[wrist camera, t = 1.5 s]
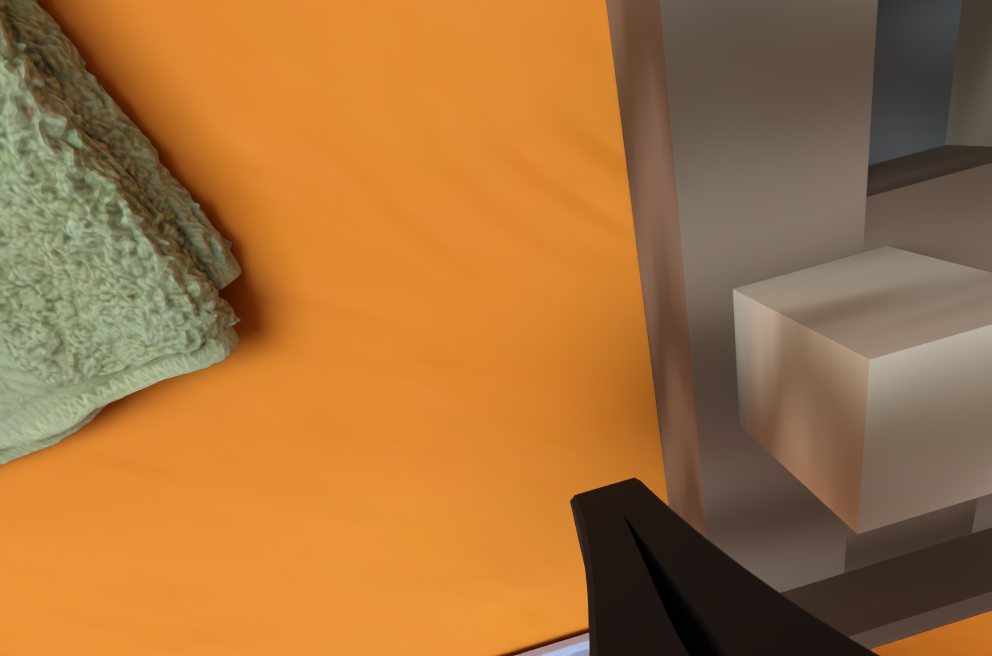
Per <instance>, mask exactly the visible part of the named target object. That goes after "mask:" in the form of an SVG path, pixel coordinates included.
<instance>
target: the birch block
mask: <svg viewBox="0 0 992 656" xmlns="http://www.w3.org/2000/svg"><path fill="white" fill-rule="evenodd" d="M733 303H734V323H735V344H736V365H737V385H738V406H739V425H740V426H741V427H742V428H743V429H744V430H745V431H746V432H747V433H748V434H750V435H751V436H752V437H753V438H754V439H755V440H756V441H757V442H758V443H759V444H760V445H761V446H763V447H764V448H765V449H766V450H767V451H768V452H769V453H770V454H771V455H772V456H773V457H774V458H775V459H777V460H778V461H779V462H780V463H781V464H782V465H783V466H784V467H785V468H786V469H787V470H788V471H790V472H791V473H792V474H793V475H794V476H795V477H796V478H797V479H798V480H799V481H800V482H801V483H803V484H804V485H805V486H806V487H807V488H808V489H809V490H810V491H811V492H812V493H813V494H814V495H815V496H817V497H818V498H819V499H820V500H821V501H822V502H823V503H824V504H825V505H826V506H827V507H828V508H830V509H831V510H832V511H833V512H834V513H835V514H836V515H837V516H838V517H839V518H840V519H841V520H842V521H844V522H845V523H846V524H847V525H848V526H849V527H850V528H851V529H852V530H853V531H854V532H855V533H857V534H860V533H864V532H867V531H870V530H873V529H877V528H880V527H883V526H886V525H890V524H893V523H896V522H900V521H903V520H906V519H909V518H913V517H916V516H919V515H922V514H926V513H929V512H932V511H935V510H939V509H942V508H945V507H949V506H952V505H955V504H958V503H962V502H965V501H968V500H971V499H975V498H978V497H981V496H984V495H988V494H991V493H992V273H991V272H987V271H983V270H979V269H975V268H971V267H967V266H963V265H959V264H956V263H952V262H948V261H944V260H940V259H936V258H932V257H928V256H924V255H920V254H916V253H912V252H909V251H905V250H901V249H897V248H893V247H889V246H886V247H882V248H879V249H875V250H871V251H868V252H864V253H861V254H857V255H853V256H850V257H846V258H843V259H839V260H835V261H832V262H828V263H825V264H821V265H818V266H814V267H810V268H807V269H803V270H800V271H796V272H792V273H789V274H785V275H782V276H778V277H774V278H771V279H767V280H764V281H760V282H757V283H753V284H749V285H746V286H742V287H739V288H735V289H733Z"/></svg>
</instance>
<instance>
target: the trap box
mask: <svg viewBox="0 0 992 656" xmlns="http://www.w3.org/2000/svg"><path fill="white" fill-rule="evenodd" d="M606 3H607V11H608V19H609V27H610V35H611V43H612V51H613V59H614V67H615V75H616V83H617V91H618V99H619V107H620V115H621V123H622V131H623V139H624V147H625V155H626V163H627V171H628V179H629V188H630V196H631V204H632V212H633V220H634V228H635V236H636V244H637V252H638V260H639V268H640V276H641V284H642V292H643V300H644V308H645V316H646V324H647V332H648V340H649V348H650V356H651V364H652V372H653V380H654V389H655V397H656V405H657V413H658V421H659V429H660V437H661V445H662V453H663V461H664V469H665V477H666V485H667V493H668V501H669V508H671V509H672V510H673V511H674V512H675V513H676V514H678V515H679V516H680V517H681V518H682V519H683V520H685V521H686V522H687V523H688V524H689V525H690V526H692V527H693V528H694V529H695V530H697V531H698V532H699V533H700V534H701V535H703V536H704V537H705V538H707V539H708V540H709V541H710V542H712V543H713V544H714V545H715V546H717V547H718V548H719V549H721V550H722V551H723V552H724V553H726V554H727V555H728V556H730V557H731V558H732V559H733V560H735V561H736V562H737V563H739V564H740V565H741V566H743V567H744V568H746V569H747V570H748V571H750V572H751V573H752V574H754V575H755V576H757V577H758V578H759V579H761V580H762V581H764V582H765V583H766V584H768V585H769V586H771V587H772V588H773V589H775V590H776V591H778V592H779V593H781V594H782V595H783V596H785V597H786V598H788V599H789V600H791V601H792V602H794V603H795V604H797V605H798V606H800V607H801V608H803V609H804V610H806V611H807V612H809V613H810V614H812V615H814V616H815V617H817V618H818V619H820V620H821V621H823V622H825V623H826V624H828V625H829V626H831V627H833V628H834V629H836V630H837V631H839V632H841V633H842V634H844V635H845V636H847V637H849V638H850V639H852V640H854V641H855V642H857V643H859V644H861V645H862V646H864V647H866V648H867V649H872V648H875V647H878V646H881V645H885V644H888V643H891V642H894V641H897V640H900V639H903V638H907V637H910V636H913V635H916V634H919V633H922V632H925V631H929V630H932V629H935V628H938V627H941V626H944V625H947V624H951V623H954V622H957V621H960V620H963V619H966V618H970V617H973V616H976V615H979V614H982V613H985V612H988V611H992V493H991V494H988V495H984V496H981V497H978V498H975V499H971V500H968V501H965V502H962V503H958V504H955V505H952V506H949V507H945V508H942V509H939V510H935V511H932V512H929V513H926V514H922V515H919V516H916V517H913V518H909V519H906V520H903V521H900V522H896V523H893V524H890V525H886V526H883V527H880V528H877V529H873V530H870V531H867V532H864V533H860V534H857V533H855V532H854V531H853V530H852V529H851V528H850V527H849V526H848V525H847V524H846V523H845V522H844V521H842V520H841V519H840V518H839V517H838V516H837V515H836V514H835V513H834V512H833V511H832V510H831V509H830V508H828V507H827V506H826V505H825V504H824V503H823V502H822V501H821V500H820V499H819V498H818V497H817V496H815V495H814V494H813V493H812V492H811V491H810V490H809V489H808V488H807V487H806V486H805V485H804V484H803V483H801V482H800V481H799V480H798V479H797V478H796V477H795V476H794V475H793V474H792V473H791V472H790V471H788V470H787V469H786V468H785V467H784V466H783V465H782V464H781V463H780V462H779V461H778V460H777V459H775V458H774V457H773V456H772V455H771V454H770V453H769V452H768V451H767V450H766V449H765V448H764V447H763V446H761V445H760V444H759V443H758V442H757V441H756V440H755V439H754V438H753V437H752V436H751V435H750V434H748V433H747V432H746V431H745V430H744V429H743V428H742V427H741V426H740V425H739V406H738V385H737V365H736V344H735V323H734V303H733V289H735V288H739V287H742V286H746V285H749V284H753V283H757V282H760V281H764V280H767V279H771V278H774V277H778V276H782V275H785V274H789V273H792V272H796V271H800V270H803V269H807V268H810V267H814V266H818V265H821V264H825V263H828V262H832V261H835V260H839V259H843V258H846V257H850V256H853V255H857V254H861V253H864V252H868V251H871V250H875V249H879V248H882V247H886V246H889V247H893V248H897V249H901V250H905V251H909V252H912V253H916V254H920V255H924V256H928V257H932V258H936V259H940V260H944V261H948V262H952V263H956V264H959V265H963V266H967V267H971V268H975V269H979V270H983V271H987V272H991V273H992V0H606Z"/></svg>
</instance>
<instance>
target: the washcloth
mask: <svg viewBox="0 0 992 656" xmlns="http://www.w3.org/2000/svg"><path fill="white" fill-rule="evenodd" d="M85 67H86V62H85V61H84V60H83V58H82V57H81V56H80V54H79V52H78V50H77V48H76V47H75V46H74V45H73V43H72V42H71V41H70V39H69V38H67V37H66V36H65V35H64V34H63V33H62V31H61V28H60V26H59V25H58V24H57V23H56V22H55V21H54V20H53V18H52V17H51V16H50V14H48V13H47V12H46V11H45V10H44V9H43V8H41V7H40V5H39V4H38V0H0V465H1V464H6V463H7V462H9V461H11V460H13V459H16V458H19V457H22V456H25V455H29V454H30V453H32V452H34V451H38V450H41V449H44V448H47V447H50V446H52V445H55V444H57V443H59V442H60V441H61V440H62V439H64V438H65V437H67V436H68V435H70V434H72V433H74V432H76V431H77V430H79V429H80V428H81V427H83V426H84V425H86V424H87V423H89V422H90V421H91V420H92V419H93V418H94V417H95V416H96V415H97V414H98V413H99V412H100V411H101V410H102V409H103V408H104V407H105V406H106V405H107V404H109V403H111V402H113V401H116V400H118V399H121V398H123V397H124V396H127V395H130V394H132V393H134V392H136V391H138V390H141V389H144V388H146V387H149V386H150V385H152V384H154V383H157V382H159V381H162V380H164V379H168V378H171V377H175V376H178V375H182V374H188V373H192V372H194V371H197V370H200V369H205V368H207V367H210V366H211V365H213V364H215V363H218V362H221V361H223V360H225V359H226V358H227V357H228V356H229V355H231V354H232V353H233V352H234V351H235V350H236V349H237V347H238V344H239V339H238V335H237V333H236V332H235V330H234V329H233V327H232V326H233V325H235V324H236V323H237V322H239V321H241V320H240V318H238V317H236V316H235V314H234V310H233V308H232V307H231V306H230V304H229V303H228V302H227V301H226V300H224V299H222V298H220V297H219V296H218V294H219V290H221V289H223V288H224V287H225V286H227V285H228V284H229V283H231V282H232V281H233V280H235V279H236V278H237V277H238V276H239V275H240V274H241V273H242V270H241V268H240V266H239V263H238V261H237V260H236V259H235V257H234V256H233V255H232V253H231V251H230V249H231V247H232V243H231V242H230V241H228V240H226V239H225V238H223V237H222V235H221V234H220V232H218V231H217V230H216V229H215V228H214V227H213V226H212V224H211V222H210V221H209V220H208V218H207V216H206V214H205V212H203V211H202V210H201V209H200V205H199V204H198V203H195V202H194V201H193V200H192V197H191V194H190V193H189V191H188V190H186V189H185V188H184V187H183V186H181V185H180V183H179V181H178V180H176V179H174V178H173V177H172V176H171V174H170V172H169V170H168V169H167V168H165V167H164V166H163V165H162V164H161V163H160V162H159V156H158V152H157V150H156V149H155V148H154V147H153V146H152V144H151V142H150V140H149V139H148V138H147V137H146V136H145V135H143V134H142V132H141V131H140V130H139V128H138V127H137V126H136V125H135V124H134V123H133V122H132V121H131V120H130V118H129V117H128V116H127V115H126V114H125V113H124V112H123V111H122V110H121V109H120V107H119V106H118V105H117V104H116V102H115V101H114V100H113V99H112V98H111V97H110V96H109V95H108V94H107V93H106V91H105V90H104V88H103V87H102V86H101V84H99V83H98V82H97V79H96V77H95V76H94V75H92V74H91V73H89V72H87V71H86V69H85Z"/></svg>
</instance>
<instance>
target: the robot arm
mask: <svg viewBox="0 0 992 656" xmlns="http://www.w3.org/2000/svg"><path fill="white" fill-rule="evenodd" d="M570 503H571V507H572V512H573V516H574V521H575V525H576V530H577V534H578V539H579V543H580V548H581V552H582V557H583V561H584V566H585V571H586V581H587V592H588V615H589V633H586V634H583V635H579V636H576V637H573V638H570V639H566V640H563V641H560V642H557V643H553V644H550V645H547V646H544V647H540V648H537V649H534V650H531V651H527V652H524V653H521V654H518V655H514V656H879V655H877V654H876V653H874V652H872V651H871V650H869V649H867V648H866V647H864V646H862V645H861V644H859V643H857V642H855V641H854V640H852V639H850V638H849V637H847V636H845V635H844V634H842V633H841V632H839V631H837V630H836V629H834V628H833V627H831V626H829V625H828V624H826V623H825V622H823V621H821V620H820V619H818V618H817V617H815V616H814V615H812V614H810V613H809V612H807V611H806V610H804V609H803V608H801V607H800V606H798V605H797V604H795V603H794V602H792V601H791V600H789V599H788V598H786V597H785V596H783V595H782V594H781V593H779V592H778V591H776V590H775V589H773V588H772V587H771V586H769V585H768V584H766V583H765V582H764V581H762V580H761V579H759V578H758V577H757V576H755V575H754V574H752V573H751V572H750V571H748V570H747V569H746V568H744V567H743V566H741V565H740V564H739V563H737V562H736V561H735V560H733V559H732V558H731V557H730V556H728V555H727V554H726V553H724V552H723V551H722V550H721V549H719V548H718V547H717V546H715V545H714V544H713V543H712V542H710V541H709V540H708V539H707V538H705V537H704V536H703V535H701V534H700V533H699V532H698V531H697V530H695V529H694V528H693V527H692V526H690V525H689V524H688V523H687V522H686V521H685V520H683V519H682V518H681V517H680V516H679V515H678V514H676V513H675V512H674V511H673V510H672V509H671V508H669V507H668V506H667V505H666V504H665V503H664V502H663V501H662V500H660V499H659V498H658V497H657V496H656V495H655V494H654V493H653V492H652V491H651V490H650V489H648V488H647V487H646V486H645V485H644V484H643V483H642V482H641V481H640V480H638V479H636V478H632V479H628V480H625V481H621V482H618V483H615V484H611V485H608V486H604V487H601V488H597V489H594V490H591V491H587V492H584V493H580V494H577V495H575V496H574V497H573V498H572V500H571V501H570Z"/></svg>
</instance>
